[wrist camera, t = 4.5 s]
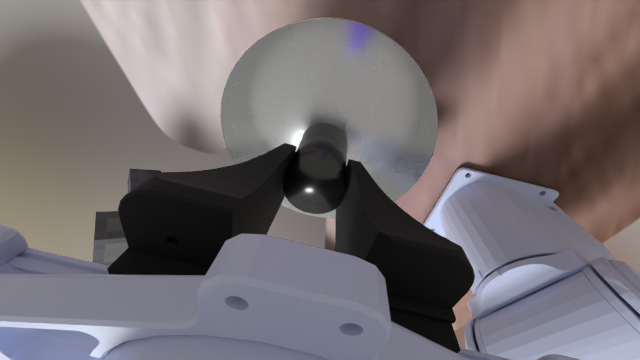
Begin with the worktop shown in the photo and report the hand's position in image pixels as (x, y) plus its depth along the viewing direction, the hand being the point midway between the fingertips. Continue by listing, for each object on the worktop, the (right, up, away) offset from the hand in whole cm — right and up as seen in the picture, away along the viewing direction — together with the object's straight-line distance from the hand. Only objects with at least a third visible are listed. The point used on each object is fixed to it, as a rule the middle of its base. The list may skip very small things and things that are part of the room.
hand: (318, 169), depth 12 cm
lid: (+1, +3, +3) cm, 4 cm away
